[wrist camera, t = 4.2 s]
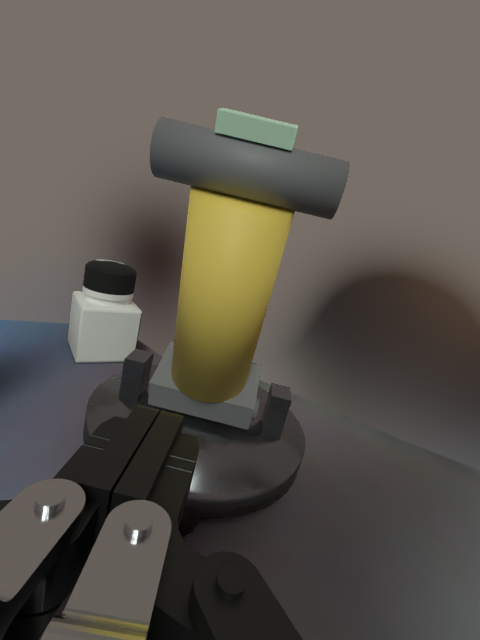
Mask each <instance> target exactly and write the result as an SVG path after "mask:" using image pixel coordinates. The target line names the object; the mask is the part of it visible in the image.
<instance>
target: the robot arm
mask: <svg viewBox="0 0 480 640" xmlns="http://www.w3.org/2000/svg"><path fill="white" fill-rule="evenodd" d="M184 419H185V416H182V415H178V414H174V413H170V412H166V411H161V410H158V409H154V408H150V407H146V406H142V405H136V406H135V408H134V409H133V410H132V412H131V413H130V414H129V416H128V417H127V418H126V419H125V418H121V417H118V416H114V417H112V418H111V419H109V420H107V421H105V422H103V423H101V424H100V425H99V426H98V427H97V429H96V430H95V431H94V432H93V433H92V435H91V436H90V437H89V438H88V439H87V440H86V441H85V442H84V444H83V446H81V447H80V448H79V449H78V450H77V452H76V453H75V454H74V455H73V456H72V457H71V458H70V460H69V461H68V462H67V463H66V464H65V465H64V467H63V468H62V469H61V470H60V471H59V472H58V473H57V475H56V476H55V477H54V478H53V479H47V480H43V481H40V482H37V483H34V484H32V485H30V486H29V487H27V488H25V489H24V490H23V491H22V492H20V493H19V494H18V495H17V496H16V497H15V498H14V499H13V500H3V501H0V640H302V638H301V637H300V635H299V634H298V632H297V631H296V629H295V627H294V626H293V624H292V623H291V621H290V620H289V618H288V617H287V615H286V613H285V612H284V610H283V609H282V607H281V606H280V604H279V603H278V601H277V599H276V598H275V596H274V595H273V593H272V592H271V590H270V589H269V587H268V585H267V584H266V582H265V581H264V579H263V578H262V576H261V575H260V573H259V571H258V570H257V569H256V567H255V566H254V565H253V564H252V563H251V562H250V561H248V560H247V559H246V558H244V557H242V556H241V555H238V554H235V553H232V552H217V553H214V554H211V555H209V556H207V557H206V558H205V557H204V556H202V555H201V554H199V553H198V552H196V551H195V550H193V549H192V548H191V547H190V546H189V545H188V544H187V543H186V542H185V541H184V540H183V538H182V536H181V534H180V532H179V529H178V527H179V523H180V520H181V516H182V513H183V510H184V507H185V504H186V500H187V497H188V494H189V491H190V487H191V482H192V478H193V474H194V470H195V465H196V461H197V457H198V453H199V445H198V442H197V438H196V436H192V435H188V434H184V433H182V429H183V425H184ZM73 588H74V590H73ZM72 591H73V592H72Z"/></svg>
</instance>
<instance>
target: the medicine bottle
mask: <svg viewBox="0 0 480 640" xmlns="http://www.w3.org/2000/svg"><path fill="white" fill-rule="evenodd" d="M136 275H137V273H136V271H135V270H134V269H133V268H132V267H130V266H128V265H126V264H123V263H119V262H115V261H109V260H93V261H90V262H88V263H87V264H86V265H85V274H84V282H83V292H80V291H75V292H73V297H72V306H71V314H70V323H69V332H68V342H69V345H70V348H71V351H72V354H73V356H74V359H75V362H76V363H107V362H124V359H125V358H126V357H127V356H128V355H129V354H130V353H131V352H132V351H133V350H135V349H136V346H137V340H138V334H139V328H140V322H141V316H142V311H141V310H140V309H139V308H138V307H137V306H136V305H135V304H134V303H133V302H132V300H131V299H132V298H133V294H134V288H135V281H136Z"/></svg>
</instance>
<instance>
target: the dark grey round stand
mask: <svg viewBox="0 0 480 640" xmlns="http://www.w3.org/2000/svg"><path fill="white" fill-rule="evenodd" d="M153 354H154V353H151V352H147V351H143V350H140V349H135V350H133V351H132V352H131V353H130V354H129V355H128V356H127V357H126V358H125V359H124V365H123V372H122V373H119V374H117V375H114V376H113V377H111V378H109V379H107V380H106V381H104V382H103V383H102V384H101V385H99V386H98V387H97V388H96V390H95V391H94V392H93V393H92V395H91V397H90V399H89V401H88V405H87V409H86V417H85V424H84V434H83V440H84V442H85V441H86V440H87V439H88V438H89V437H90V436H91V435H92V433H93V432H94V431H95V430H96V429H97V427H98V426H99V425H100V424H101V423H103V422H105V421H107V420H109V419H111V418H112V417H114V416H118V417H121V418H125V419H126V418H127V417H128V416H129V414H130V413H131V412H132V410H133V409H134V408H135V406H136V405H142V406H146V407H150V408H154V409H158V410H161V411H166V412H170V413H174V414H178V415H182V416H185V419H184V425H183V429H182V433H184V434H188V435H192V436H196V438H197V442H198V445H199V453H198V457H197V461H196V465H195V470H194V474H193V478H192V482H191V487H190V491H189V494H188V497H187V500H186V504H185V507H184V510H183V513H182V516H181V520H180V523H179V527H178V529H179V532H180V534H181V536H182V537H183V536H185V535H187V534H189V533H190V532H192V531H193V530H194V529H195V527H196V526H197V524H198V521H199V517H200V518H225V517H233V516H240V515H244V514H248V513H252V512H255V511H258V510H260V509H262V508H265V507H267V506H269V505H271V504H272V503H274V502H276V501H277V500H279V499H280V498H281V497H282V496H283V495H284V494H285V493H286V492H287V491H288V490H289V489H290V487H291V486H292V484H293V483H294V480H295V478H296V476H297V473H298V470H299V467H300V464H301V461H302V458H303V455H304V449H305V438H304V434H303V430H302V428H301V426H300V424H299V422H298V421H297V419H296V418H295V416H294V415H293V414H292V412H291V411H290V410H289V407H290V404H291V393H290V387H286V386H282V385H278V384H274V383H271V387H270V390H269V393H268V392H266V391H265V390H263V389H261V388H260V387H258V391H257V397H256V398H259V399H260V402H259V408H258V412H257V416H256V419H255V420H252V419H251V422H250V425H249V428H248V430H247V429H243V428H239V427H235V426H231V425H227V424H223V423H220V422H216V421H212V420H208V419H204V418H200V417H196V416H192V415H188V414H184V413H180V412H177V411H173V410H169V409H165V408H161V407H157V406H153V405H149V404H148V396H149V382H150V380H151V378H152V376H153V375H154V373H155V371H156V369H157V367H158V365H152V360H153ZM151 365H152V366H151Z"/></svg>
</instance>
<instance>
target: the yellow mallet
mask: <svg viewBox="0 0 480 640" xmlns="http://www.w3.org/2000/svg"><path fill="white" fill-rule="evenodd" d="M297 129H298V126H297V125H293V124H289V123H285V122H281V121H276V120H273V119H268V118H264V117H260V116H256V115H252V114H247V113H243V112H239V111H234V110H231V109H226V108H221V109H218V111H217V118H216V126H215V129H210V128H206V127H202V126H198V125H193V124H189V123H185V122H181V121H177V120H173V119H168V118H165V117H161V118H160V119H159V120H158V121H157V123H156V125H155V127H154V130H153V134H152V139H151V146H150V165H151V171H152V173H153V175H154V176H155V177H158V178H162V179H167V180H170V181H174V182H178V183H182V184H186V185H191V189H190V198H189V208H188V216H187V226H186V236H185V245H184V254H183V263H182V273H181V282H180V292H179V301H178V310H177V320H176V329H175V338H174V343H173V342H170V344H169V346H168V348H167V350H166V352H165V354H164V355H163V357H162V359H161V361H160V363H159V365H158V367H157V369H156V371H155V373H154V375H153V376H152V378H151V380H150V382H149V396H148V404H149V405H153V406H157V407H161V408H165V409H169V410H173V411H177V412H180V413H184V414H188V415H192V416H196V417H200V418H204V419H208V420H212V421H216V422H220V423H223V424H227V425H231V426H235V427H239V428H243V429H247V430H248V428H249V425H250V422H251V419H252V420H255V419H256V416H257V412H258V408H259V402H260V399H259V398H256V397H257V391H258V385H259V378H260V372H261V366H262V365H261V364H257V363H253V362H252V360H253V356H254V353H255V349H256V346H257V342H258V339H259V335H260V332H261V328H262V325H263V321H264V318H265V314H266V310H267V307H268V304H269V300H270V297H271V293H272V289H273V286H274V283H275V279H276V275H277V272H278V268H279V265H280V261H281V258H282V254H283V251H284V247H285V244H286V240H287V236H288V233H289V229H290V226H291V223H292V219H293V215H294V212H295V211H297V212H302V213H306V214H310V215H314V216H318V217H323V218H327V219H332V218H333V217H334V215H335V213H336V211H337V209H338V206H339V204H340V201H341V198H342V195H343V192H344V189H345V185H346V182H347V177H348V173H349V165H350V164H349V162H348V161H344V160H340V159H335V158H331V157H327V156H323V155H319V154H314V153H310V152H306V151H302V150H298V149H294V148H293V145H294V141H295V137H296V133H297Z"/></svg>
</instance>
